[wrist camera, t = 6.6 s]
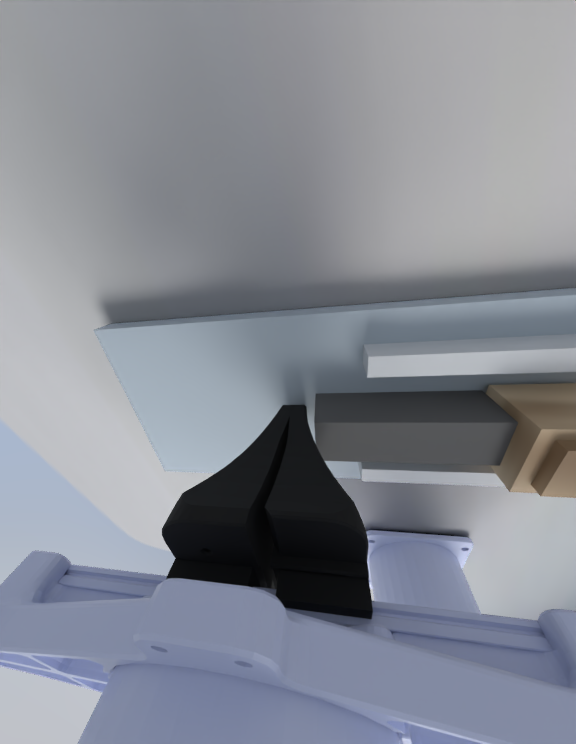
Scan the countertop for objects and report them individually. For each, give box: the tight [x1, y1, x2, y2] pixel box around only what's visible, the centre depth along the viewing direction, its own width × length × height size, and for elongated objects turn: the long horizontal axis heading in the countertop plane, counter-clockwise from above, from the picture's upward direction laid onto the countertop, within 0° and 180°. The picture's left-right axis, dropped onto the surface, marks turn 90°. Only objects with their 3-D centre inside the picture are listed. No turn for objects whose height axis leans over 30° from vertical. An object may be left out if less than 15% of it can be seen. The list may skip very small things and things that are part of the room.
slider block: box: [486, 383, 576, 498], centre depth 10 cm, size 3×4×4 cm
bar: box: [314, 390, 518, 466], centre depth 11 cm, size 2×8×2 cm, turn 97°
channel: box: [94, 288, 576, 487], centre depth 12 cm, size 11×28×4 cm, turn 96°
